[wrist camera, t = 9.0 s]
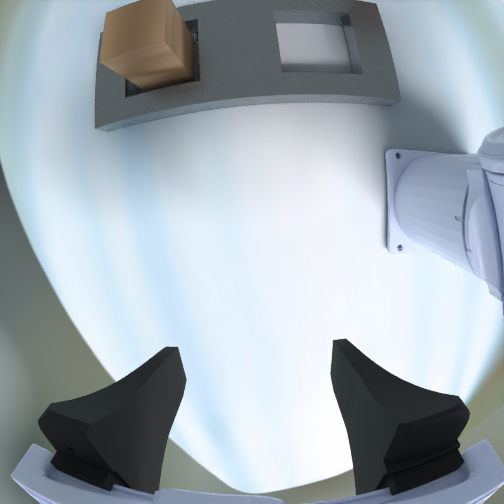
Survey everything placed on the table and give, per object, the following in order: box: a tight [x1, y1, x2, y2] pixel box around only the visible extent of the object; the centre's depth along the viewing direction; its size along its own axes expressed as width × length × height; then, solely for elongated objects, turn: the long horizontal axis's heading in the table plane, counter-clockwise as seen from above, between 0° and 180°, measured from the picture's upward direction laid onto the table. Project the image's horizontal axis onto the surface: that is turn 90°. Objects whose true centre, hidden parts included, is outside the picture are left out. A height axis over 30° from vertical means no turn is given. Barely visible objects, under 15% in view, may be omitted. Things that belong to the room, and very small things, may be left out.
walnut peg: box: [100, 0, 195, 91], centre depth 14 cm, size 4×4×7 cm
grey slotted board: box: [95, 0, 401, 132], centre depth 16 cm, size 22×9×2 cm, turn 95°
